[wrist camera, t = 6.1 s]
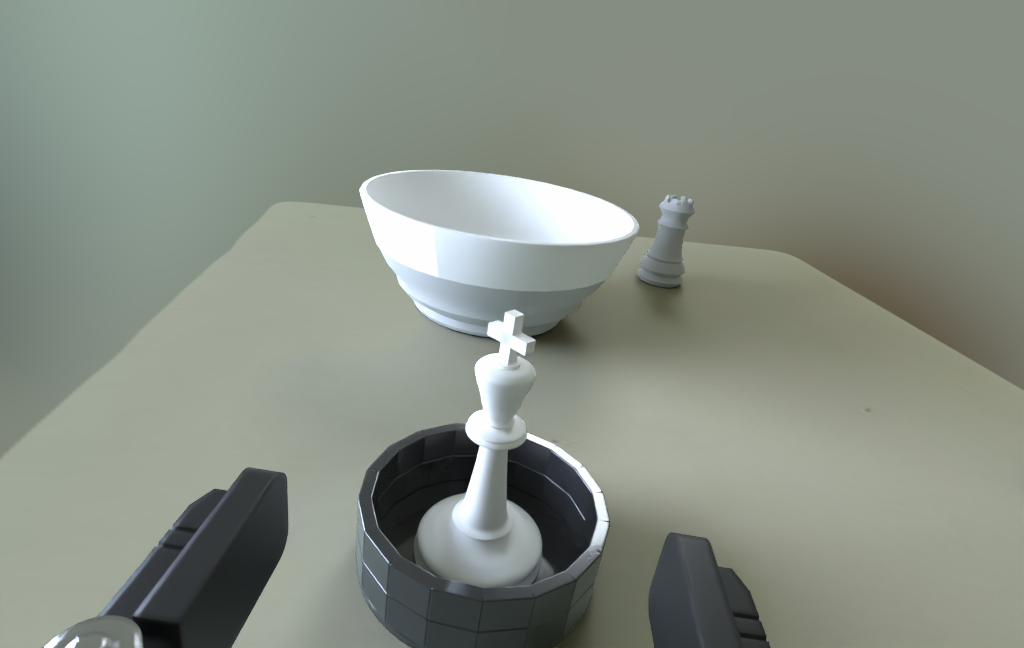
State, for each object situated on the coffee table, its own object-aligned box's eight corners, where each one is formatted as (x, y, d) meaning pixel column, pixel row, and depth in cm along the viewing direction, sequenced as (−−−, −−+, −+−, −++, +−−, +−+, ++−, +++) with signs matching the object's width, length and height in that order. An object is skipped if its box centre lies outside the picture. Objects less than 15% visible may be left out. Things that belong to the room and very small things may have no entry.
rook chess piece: (675, 275, 58) (697, 196, 55) (687, 291, 54) (711, 207, 51) (632, 269, 58) (651, 189, 55) (639, 285, 54) (660, 199, 51)
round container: (642, 604, 22) (662, 544, 20) (410, 717, 17) (418, 647, 16) (516, 459, 28) (526, 407, 27) (326, 510, 24) (326, 450, 22)
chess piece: (475, 630, 19) (518, 367, 15) (386, 541, 22) (403, 300, 18) (567, 556, 23) (623, 326, 19) (480, 488, 26) (512, 275, 21)
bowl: (637, 302, 50) (660, 207, 47) (571, 406, 33) (600, 270, 30) (438, 248, 56) (445, 160, 52) (296, 314, 39) (294, 191, 36)
